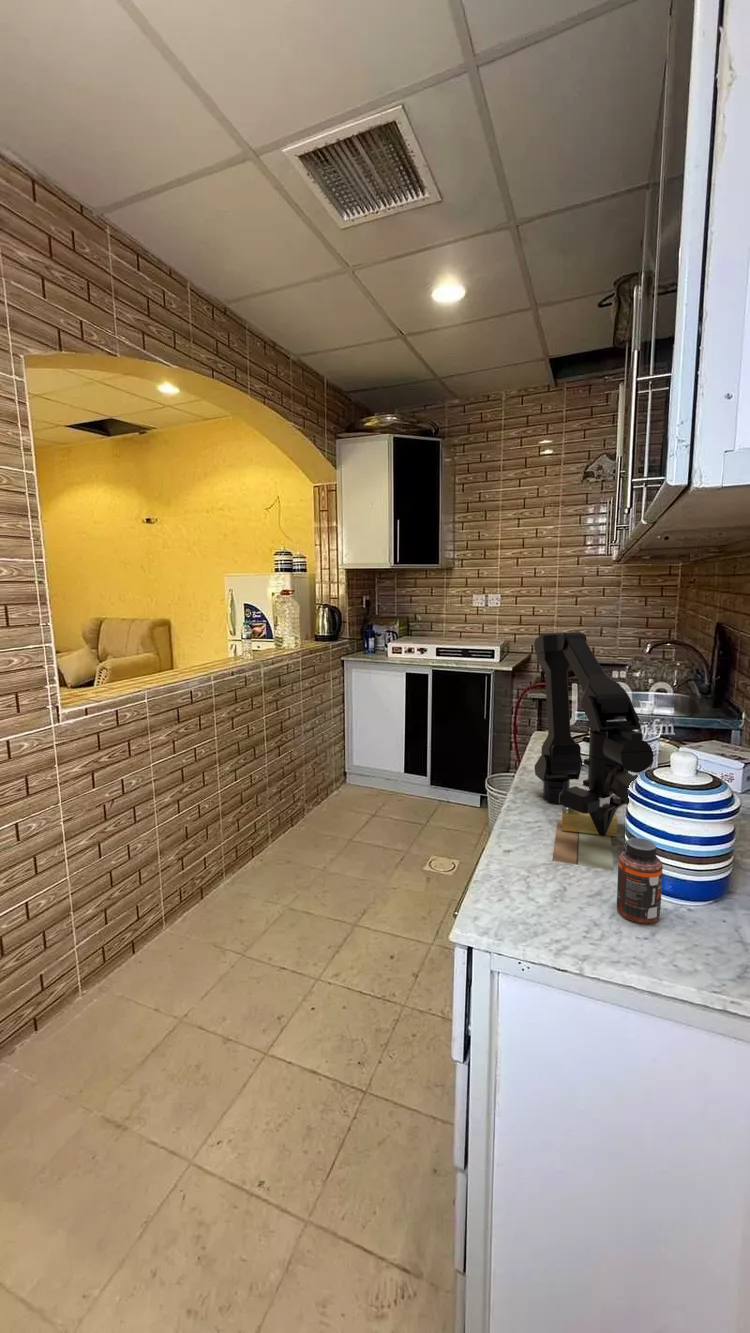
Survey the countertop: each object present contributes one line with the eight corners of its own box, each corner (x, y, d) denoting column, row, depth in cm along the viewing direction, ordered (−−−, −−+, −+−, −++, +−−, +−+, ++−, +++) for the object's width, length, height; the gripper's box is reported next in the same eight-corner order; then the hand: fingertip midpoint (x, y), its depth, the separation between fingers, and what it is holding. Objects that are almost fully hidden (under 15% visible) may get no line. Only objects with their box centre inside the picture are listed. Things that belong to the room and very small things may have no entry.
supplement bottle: (665, 928, 76) (670, 854, 75) (621, 923, 78) (625, 851, 76) (652, 904, 82) (656, 835, 81) (612, 900, 83) (615, 833, 82)
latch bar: (562, 830, 105) (562, 809, 104) (561, 823, 107) (562, 803, 107) (616, 836, 102) (617, 815, 101) (615, 829, 104) (616, 809, 104)
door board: (557, 825, 110) (557, 819, 110) (609, 832, 107) (609, 826, 106) (552, 866, 94) (552, 860, 94) (613, 876, 90) (613, 870, 90)
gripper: (612, 776, 87) (608, 865, 89) (676, 758, 96) (672, 839, 98) (558, 759, 96) (555, 840, 98) (621, 745, 106) (617, 819, 108)
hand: (602, 835), depth 100 cm, fingers closed
